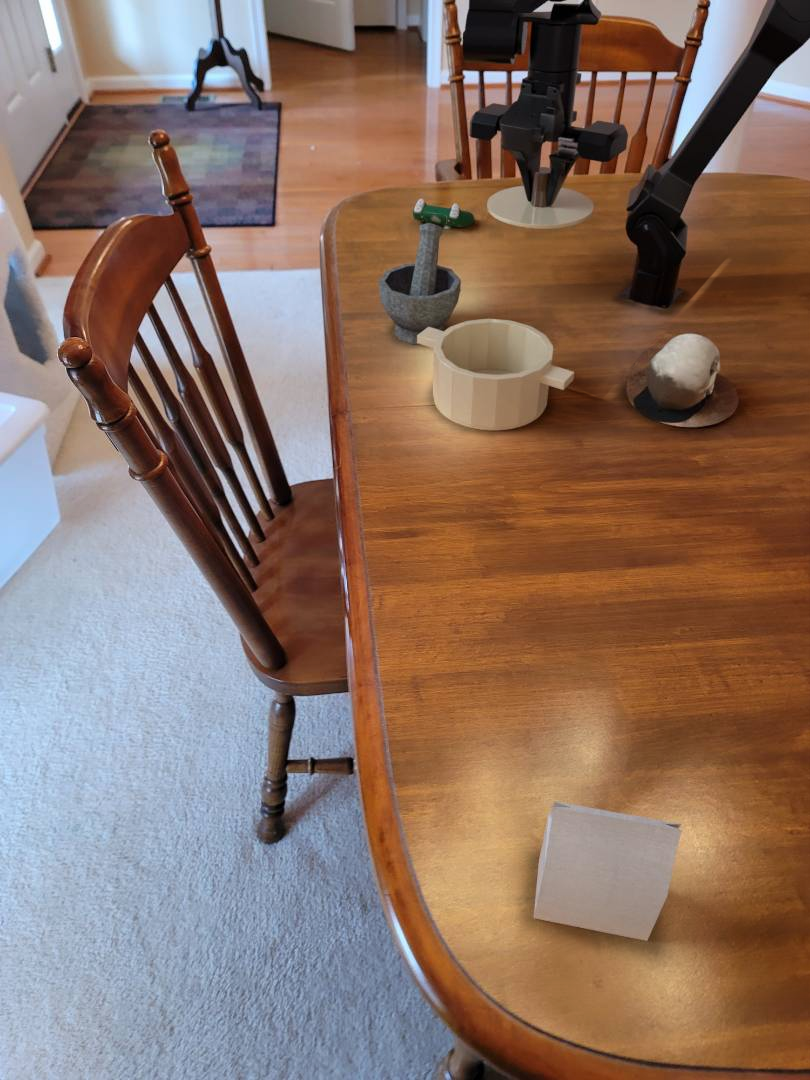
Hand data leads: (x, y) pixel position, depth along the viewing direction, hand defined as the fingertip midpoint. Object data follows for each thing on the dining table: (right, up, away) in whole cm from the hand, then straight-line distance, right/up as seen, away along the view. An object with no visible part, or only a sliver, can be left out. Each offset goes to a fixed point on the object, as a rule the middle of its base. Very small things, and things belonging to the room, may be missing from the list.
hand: (540, 203), depth 107 cm
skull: (+13, -27, -14) cm, 34 cm away
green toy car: (-12, +5, +22) cm, 26 cm away
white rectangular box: (-6, -66, -55) cm, 86 cm away
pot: (-8, -27, -14) cm, 31 cm away
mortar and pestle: (-15, -17, -2) cm, 23 cm away
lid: (0, -1, 0) cm, 1 cm away
